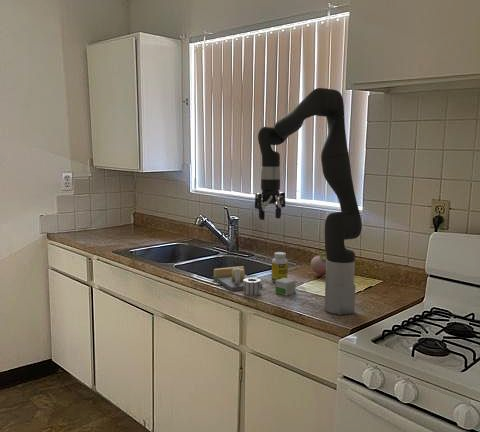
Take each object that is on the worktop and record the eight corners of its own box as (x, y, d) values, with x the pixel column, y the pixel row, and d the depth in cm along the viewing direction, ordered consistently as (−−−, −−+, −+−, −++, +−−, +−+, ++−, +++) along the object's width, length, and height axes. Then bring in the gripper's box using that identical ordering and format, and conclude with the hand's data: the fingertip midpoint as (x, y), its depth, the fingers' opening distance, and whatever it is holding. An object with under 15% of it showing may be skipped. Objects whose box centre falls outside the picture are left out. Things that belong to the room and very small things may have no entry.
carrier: (262, 287, 191) (262, 268, 190) (231, 291, 185) (231, 271, 184) (242, 276, 207) (242, 259, 206) (213, 279, 202) (213, 261, 201)
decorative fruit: (307, 274, 213) (307, 251, 212) (324, 273, 215) (325, 250, 214) (315, 279, 204) (316, 256, 203) (334, 278, 206) (334, 255, 205)
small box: (274, 292, 185) (274, 280, 184) (284, 289, 189) (284, 277, 188) (286, 296, 181) (286, 283, 180) (295, 292, 185) (296, 280, 184)
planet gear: (263, 294, 182) (263, 281, 181) (247, 296, 179) (248, 283, 179) (255, 289, 188) (255, 277, 187) (240, 291, 185) (240, 278, 184)
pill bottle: (274, 283, 197) (275, 255, 195) (269, 279, 203) (269, 251, 202) (289, 282, 199) (290, 254, 197) (284, 278, 205) (284, 251, 203)
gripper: (263, 179, 187) (262, 221, 189) (290, 178, 196) (289, 218, 198) (250, 178, 193) (250, 219, 195) (277, 177, 201) (276, 216, 203)
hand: (270, 218), depth 196 cm, fingers open, 8 cm apart
